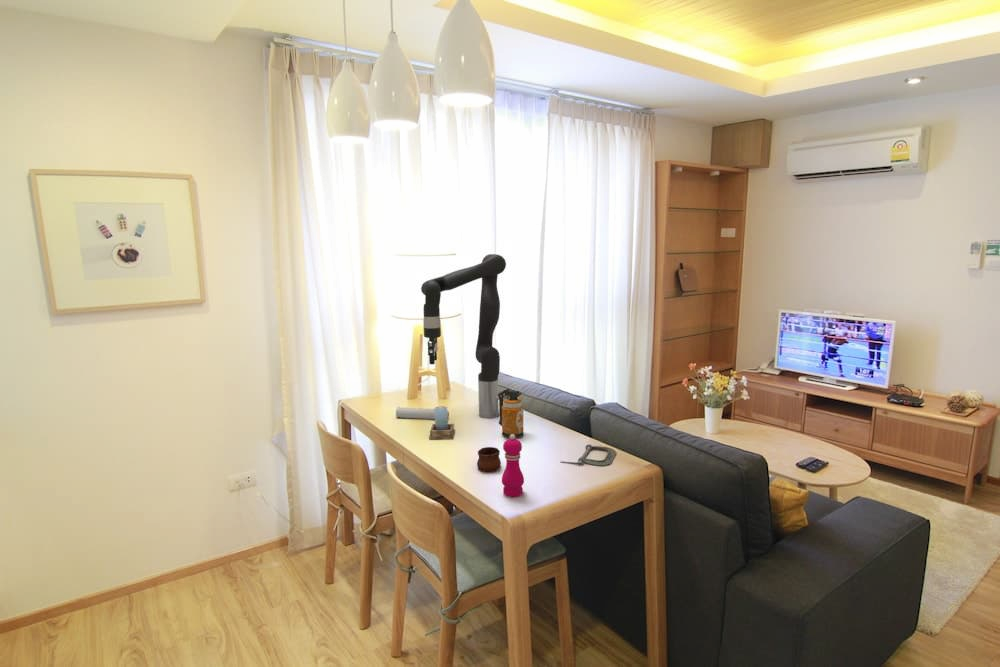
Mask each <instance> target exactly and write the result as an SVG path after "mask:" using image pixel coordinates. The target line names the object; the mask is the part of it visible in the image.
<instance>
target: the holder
mask: <svg viewBox="0 0 1000 667" xmlns="http://www.w3.org/2000/svg"><path fill="white" fill-rule="evenodd" d="M429 430H430V431H429V433H430V434H429V436H428V440H429V441H430V440H431V441H432V440H433V441H435V440H436V441H438V440H439V441H440V440H441V441H443V440H454V437H455V434H456V428H455V426H454V423H448V430H436V427H435V423H432V425H431V427H430V429H429Z"/></svg>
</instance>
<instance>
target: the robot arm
mask: <svg viewBox="0 0 1000 667" xmlns="http://www.w3.org/2000/svg"><path fill="white" fill-rule="evenodd" d="M506 262H507V261H506V259H505V258H504V257H503V256H502V255H501V254H495V253H489V254H486V255H485V256H484V257H483V259H482V260H481V262H479V263H478V264H475V265H472V266H469V267H465V268H460V269H459V270H455V271H452V272H449V273H447V274H444V275H441V276H438V277H434V278H432V279H429V280H426V281H425V282H423V283H422V284H421V286H420V287H421V288H420V290H421V293H422V294H423V295H424V296H425V298H424V299H425V301H424V304H423V321H422V322H423V337H424V338H428V341H427V355H428V358H429V359H428V362H429V365H435V364H436V362H435V361H437V360H438V350H439V347H438V343H439V340H438V338H440V337H441V336H442V334H441V333H442V329H441V326H442V325H441V316H440V315H441V313H440V311H441V310H440V303H441V295H442V294H441V293H442V292H445V291H451V290H454V289H457V288H459V287H461V286H463V285H466V284H469V283H471V282H474V281H476V280H479V279H481V289H480V290H481V291H480V292H481V293H480V303H479V313H478V314H479V318H478V320H479V321H478V335H477V336H478V337H477V341H476V347H475V359H476V361H477V362H478V363H479V364H480V365H481V366H480V372H479V373H478V374H477V379H478V380H477V382H478V383H477V384H478V416H479V417H480V418H485V419H489V418H490V419H491V418H498V417H499V415H500V411H499V397H498V394H499V374H500V370H501V369H500V368H501V367H500V366H501V365H500V364H501V363H500V361H501V360H500V359H501V358H500V353H499V350H498V349H497V348H495V347H494V346H493V337H494V332H495V329H496V327H497V325H498V322H499V320H500V310H501V300H500V296H499V292H498V275H500V274H502V273H503V272H504V271H505V270H506V268H507V267H506V266H507V263H506Z"/></svg>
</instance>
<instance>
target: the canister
mask: <svg viewBox="0 0 1000 667" xmlns="http://www.w3.org/2000/svg"><path fill="white" fill-rule="evenodd" d="M521 395H522V392H520V390H513V389H509V388H506V389H504V390H503V391H501V392H498V410H499V421H498V424H499V425H500V427H501V435H502V436H503V437H504V438H507V439H509V438H510V435H511V434H514V435H515V438H516V439H518V438H521V437H523V436H524V406H523V401H522V398H520V396H521Z"/></svg>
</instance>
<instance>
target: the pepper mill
mask: <svg viewBox="0 0 1000 667" xmlns="http://www.w3.org/2000/svg"><path fill="white" fill-rule="evenodd" d="M502 445H503V446H502V449H503V451H504V452H505V453H504V459H506V463H505V464H506V465H505V468H504V470H503V472H502V476H501V484H502V485H503V492H502V493H503V495H504V496H506V497H507V498H508V497H509V498H517V497H520V496H522V495H523V493H524V491H523V489H524V488H523V485H524V484H525V478H524V477H525V476H524V474H523V471H522V470H521V467H520V459H521V451H522V450H523V445H522V442H521V441H520V440H519V439H518V438H515V435H514V434H511V435H510V438H507V439H505V441H504V442H503V444H502Z"/></svg>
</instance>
